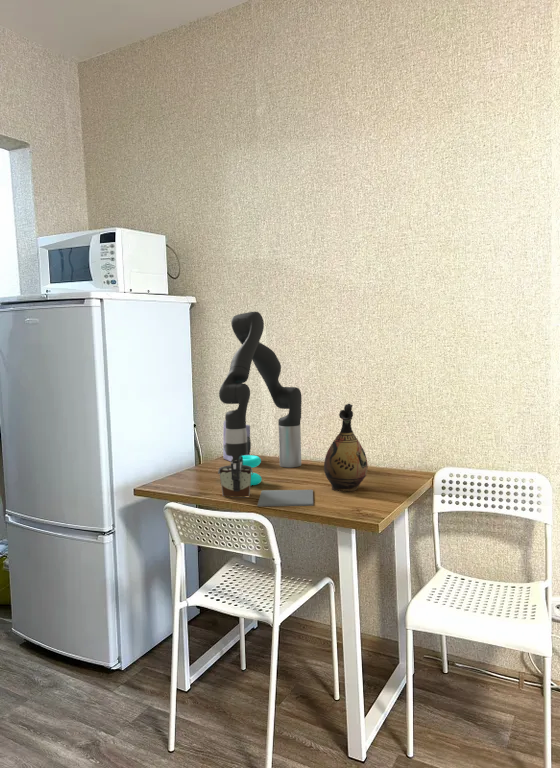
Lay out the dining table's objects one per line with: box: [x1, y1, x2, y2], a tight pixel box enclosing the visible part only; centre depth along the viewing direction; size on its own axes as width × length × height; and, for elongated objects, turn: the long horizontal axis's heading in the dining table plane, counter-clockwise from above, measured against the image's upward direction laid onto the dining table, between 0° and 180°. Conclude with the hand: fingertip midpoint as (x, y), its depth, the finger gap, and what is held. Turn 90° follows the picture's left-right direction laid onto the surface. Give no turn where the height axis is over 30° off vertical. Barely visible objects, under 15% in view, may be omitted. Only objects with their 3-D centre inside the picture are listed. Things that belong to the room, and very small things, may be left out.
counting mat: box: [257, 489, 314, 507], centre depth 205 cm, size 18×18×1 cm
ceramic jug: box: [323, 403, 369, 493], centre depth 216 cm, size 17×15×30 cm
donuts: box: [242, 454, 263, 487], centre depth 227 cm, size 10×10×10 cm
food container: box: [217, 464, 254, 497], centre depth 211 cm, size 12×6×10 cm, turn 80°
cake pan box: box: [222, 420, 252, 463], centre depth 266 cm, size 19×5×18 cm, turn 30°
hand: (237, 488), depth 211 cm, fingers open, 6 cm apart
